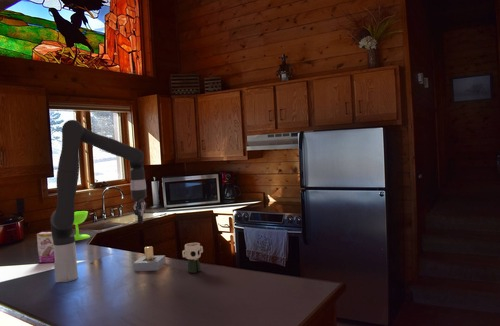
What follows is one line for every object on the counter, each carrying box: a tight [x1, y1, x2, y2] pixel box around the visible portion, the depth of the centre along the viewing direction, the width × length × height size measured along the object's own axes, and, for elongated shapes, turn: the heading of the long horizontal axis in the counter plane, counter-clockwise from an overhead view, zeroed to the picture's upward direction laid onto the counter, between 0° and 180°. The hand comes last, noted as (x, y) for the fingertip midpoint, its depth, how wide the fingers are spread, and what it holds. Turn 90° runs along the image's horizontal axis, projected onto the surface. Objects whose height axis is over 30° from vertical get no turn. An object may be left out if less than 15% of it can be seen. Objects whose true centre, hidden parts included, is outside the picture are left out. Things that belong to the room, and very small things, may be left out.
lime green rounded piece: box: [73, 210, 91, 242], centre depth 282 cm, size 16×16×18 cm
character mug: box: [181, 242, 204, 274], centre depth 186 cm, size 11×7×13 cm, turn 129°
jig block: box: [133, 255, 167, 272], centre depth 198 cm, size 12×12×4 cm
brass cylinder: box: [144, 245, 154, 261], centre depth 198 cm, size 4×4×10 cm
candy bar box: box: [36, 231, 55, 264], centre depth 222 cm, size 11×5×16 cm, turn 84°
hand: (140, 223), depth 200 cm, fingers closed
